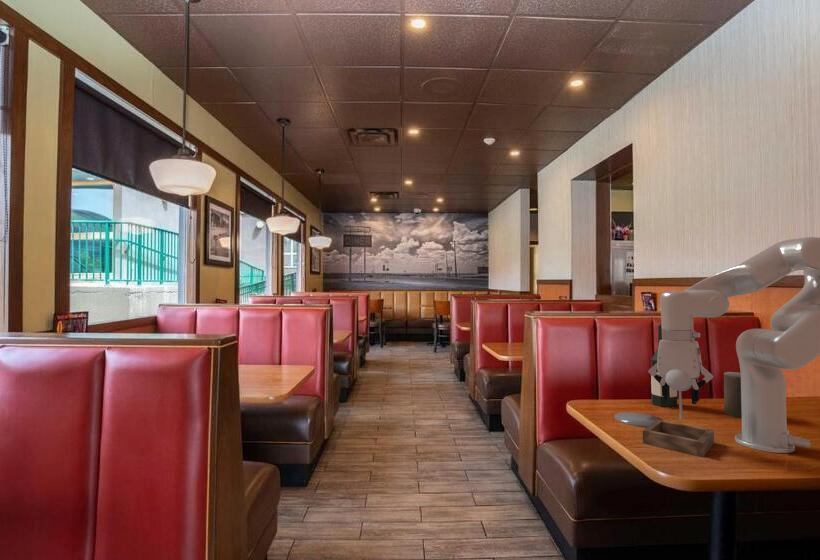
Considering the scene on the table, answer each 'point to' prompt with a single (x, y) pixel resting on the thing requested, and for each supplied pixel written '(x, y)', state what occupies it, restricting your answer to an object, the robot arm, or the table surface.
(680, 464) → the table surface
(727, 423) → the table surface
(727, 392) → the pillar candle
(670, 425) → the frame
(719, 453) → the table surface
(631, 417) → the gray round disc
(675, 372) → the eyeball on stick
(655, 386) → the wine bottle
